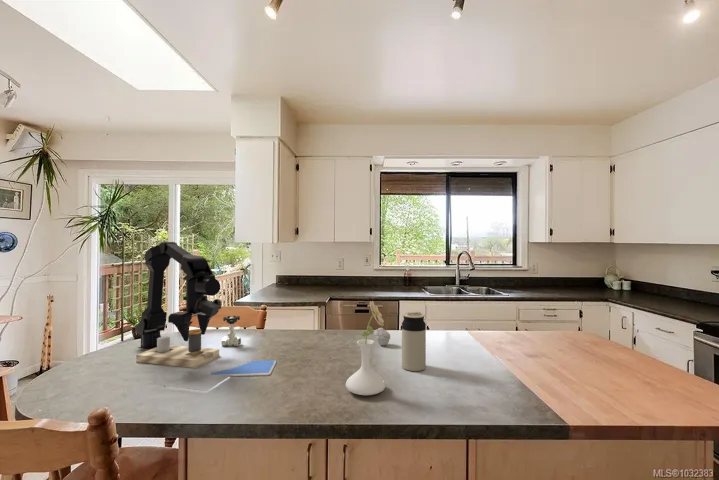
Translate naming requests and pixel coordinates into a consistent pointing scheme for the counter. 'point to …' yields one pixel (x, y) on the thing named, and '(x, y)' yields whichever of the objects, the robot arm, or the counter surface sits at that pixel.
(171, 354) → the wooden socket board
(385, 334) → the crumpled paper ball
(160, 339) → the grey plug
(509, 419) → the counter surface
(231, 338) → the valve
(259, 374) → the tablet computer
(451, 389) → the counter surface
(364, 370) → the flower in vase
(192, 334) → the capped plug
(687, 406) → the counter surface
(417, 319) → the travel mug
